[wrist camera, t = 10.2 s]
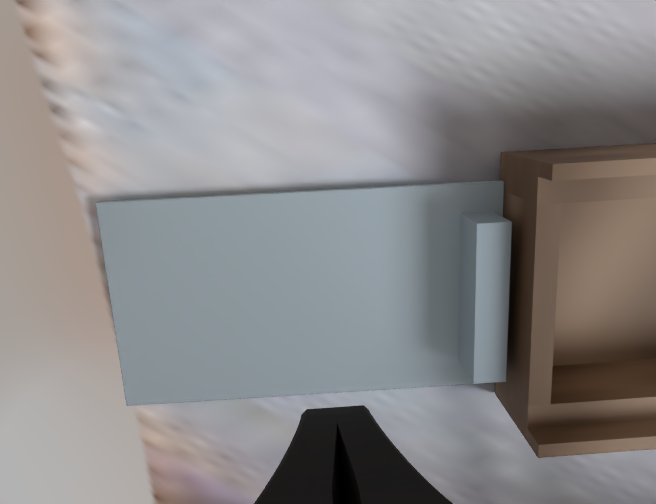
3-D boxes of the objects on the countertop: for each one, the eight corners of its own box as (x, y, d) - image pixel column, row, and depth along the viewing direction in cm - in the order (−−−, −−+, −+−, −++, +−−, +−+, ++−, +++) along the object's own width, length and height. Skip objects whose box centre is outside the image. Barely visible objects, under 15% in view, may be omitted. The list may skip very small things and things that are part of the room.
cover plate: (494, 178, 21) (524, 188, 19) (489, 371, 24) (515, 407, 21) (105, 198, 21) (73, 213, 18) (134, 393, 23) (109, 434, 20)
